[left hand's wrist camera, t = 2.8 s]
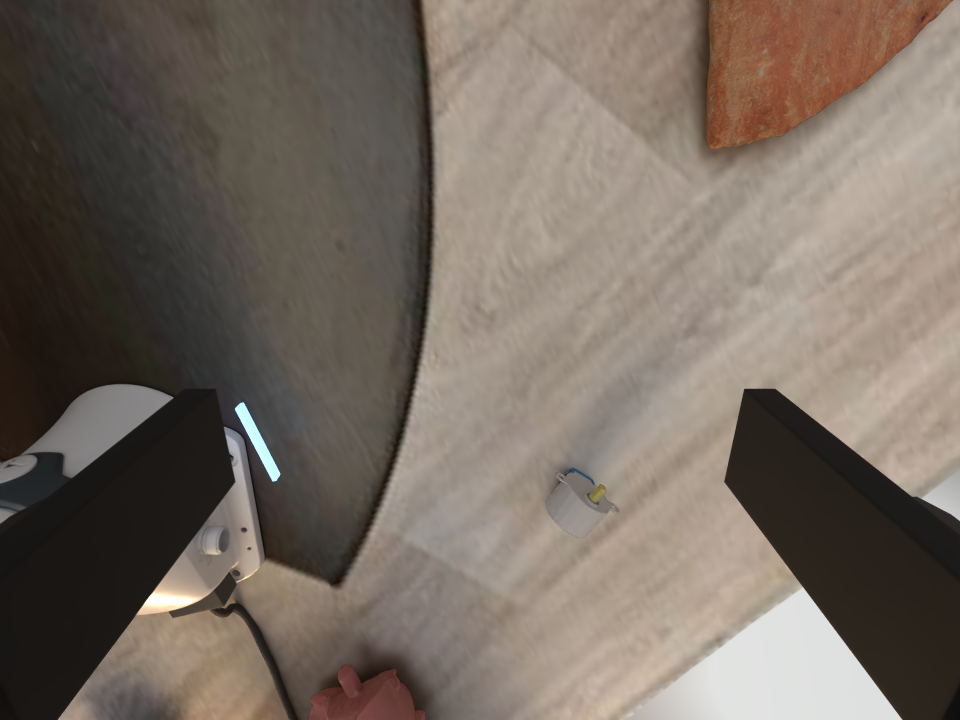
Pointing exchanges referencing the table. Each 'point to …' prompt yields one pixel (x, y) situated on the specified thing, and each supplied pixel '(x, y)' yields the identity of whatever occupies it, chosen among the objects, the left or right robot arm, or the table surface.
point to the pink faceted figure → (365, 699)
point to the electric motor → (578, 503)
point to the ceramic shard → (797, 58)
